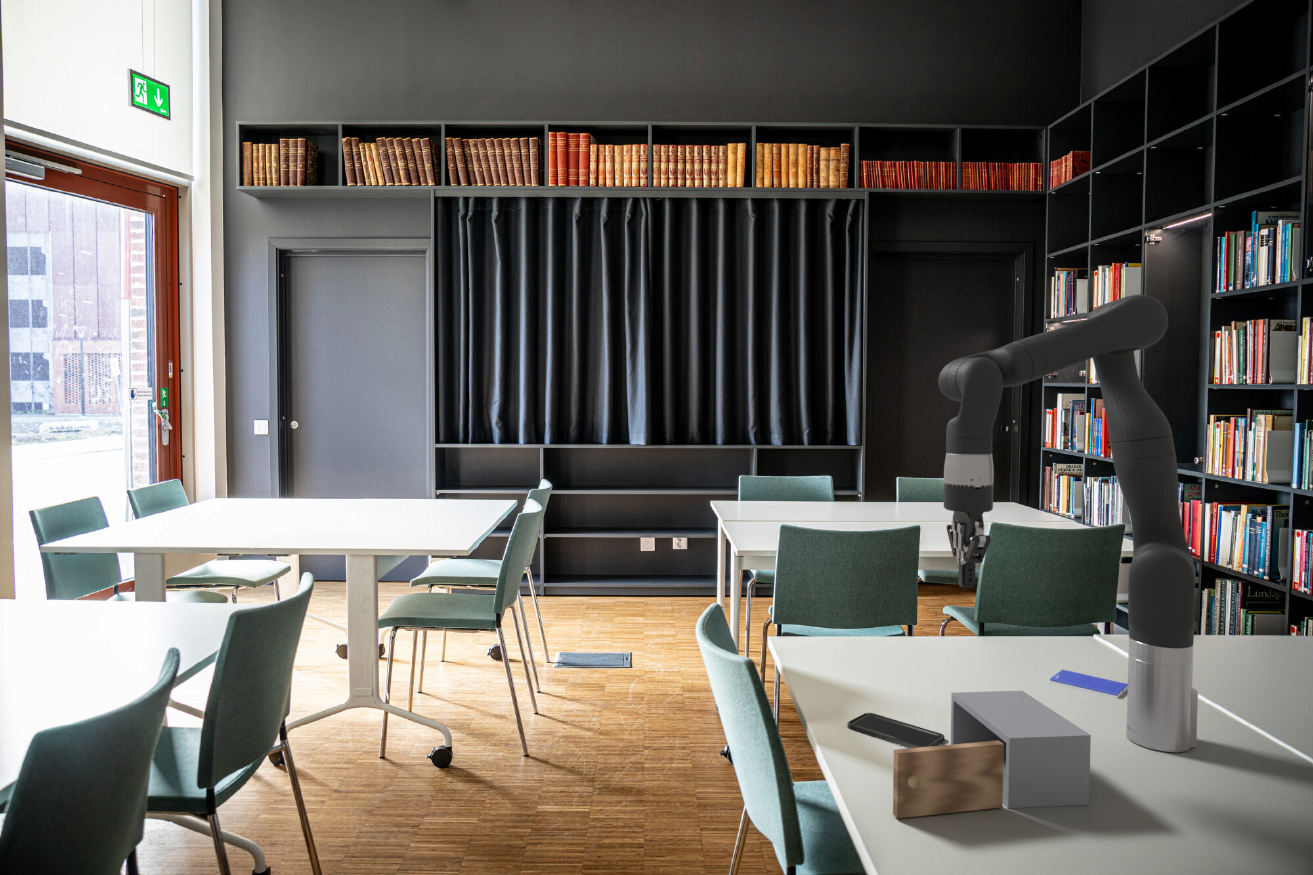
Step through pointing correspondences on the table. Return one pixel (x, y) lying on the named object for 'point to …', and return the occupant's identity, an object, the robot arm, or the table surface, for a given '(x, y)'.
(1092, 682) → the hard drive
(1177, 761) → the table surface
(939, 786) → the door
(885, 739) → the phone
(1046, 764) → the storage box
